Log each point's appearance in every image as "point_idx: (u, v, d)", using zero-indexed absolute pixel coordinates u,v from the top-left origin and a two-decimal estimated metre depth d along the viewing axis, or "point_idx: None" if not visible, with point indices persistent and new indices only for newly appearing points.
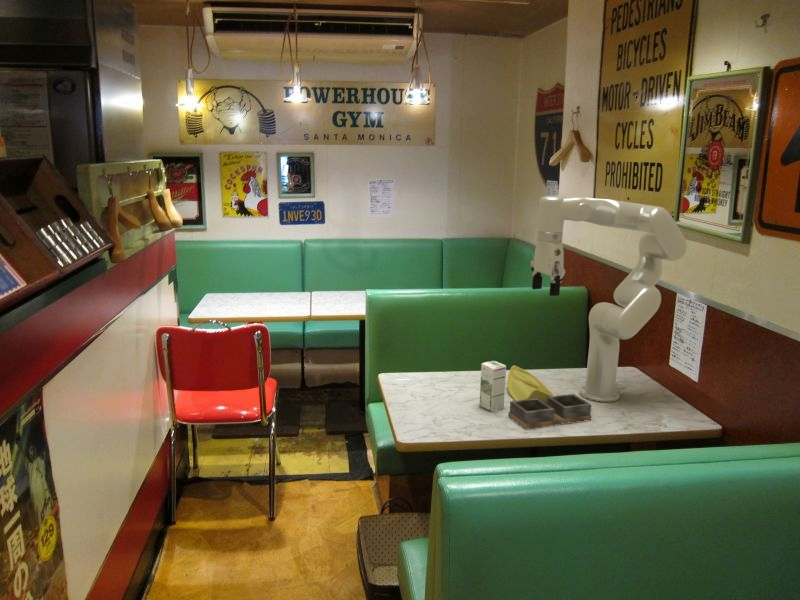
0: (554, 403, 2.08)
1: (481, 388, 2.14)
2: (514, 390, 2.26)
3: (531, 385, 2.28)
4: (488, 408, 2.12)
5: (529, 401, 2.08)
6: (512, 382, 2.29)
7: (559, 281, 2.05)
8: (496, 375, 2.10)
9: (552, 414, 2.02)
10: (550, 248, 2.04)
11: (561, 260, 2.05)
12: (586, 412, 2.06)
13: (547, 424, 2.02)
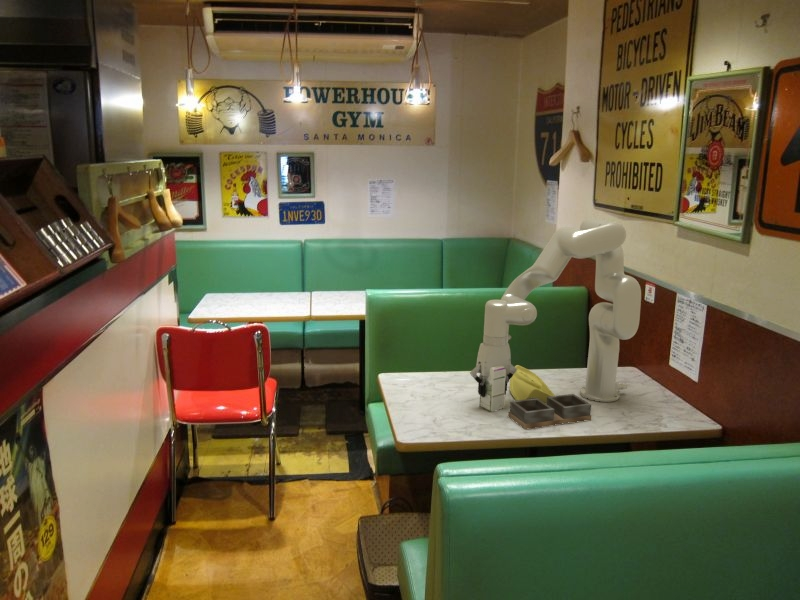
0: (554, 403, 2.08)
1: None
2: (515, 389, 2.26)
3: (533, 385, 2.28)
4: (488, 408, 2.12)
5: (529, 401, 2.08)
6: (514, 381, 2.30)
7: None
8: (496, 375, 2.10)
9: (552, 414, 2.02)
10: (509, 349, 2.10)
11: None
12: (586, 412, 2.06)
13: (547, 424, 2.02)
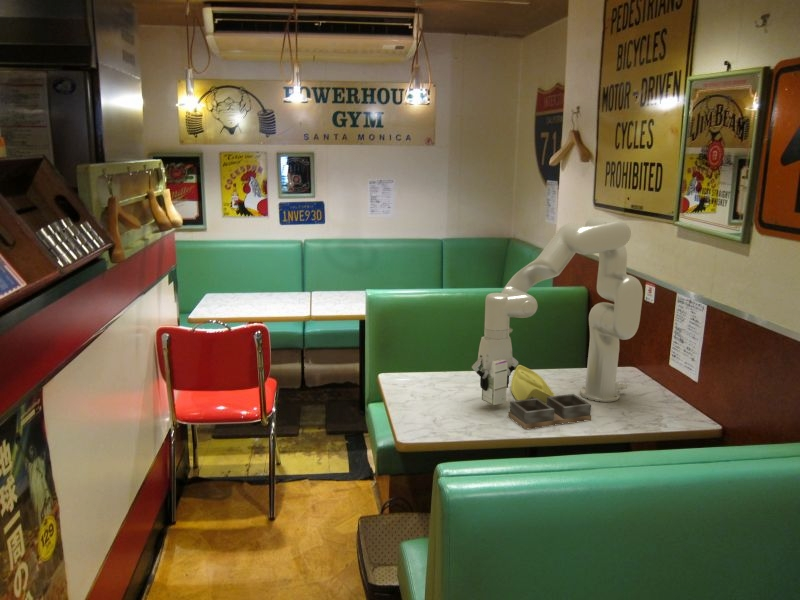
0: (554, 403, 2.08)
1: None
2: (516, 388, 2.27)
3: (535, 385, 2.29)
4: (490, 401, 2.12)
5: (529, 401, 2.08)
6: (516, 381, 2.30)
7: None
8: (498, 368, 2.09)
9: (552, 414, 2.02)
10: (510, 342, 2.10)
11: None
12: (586, 412, 2.06)
13: (547, 424, 2.02)
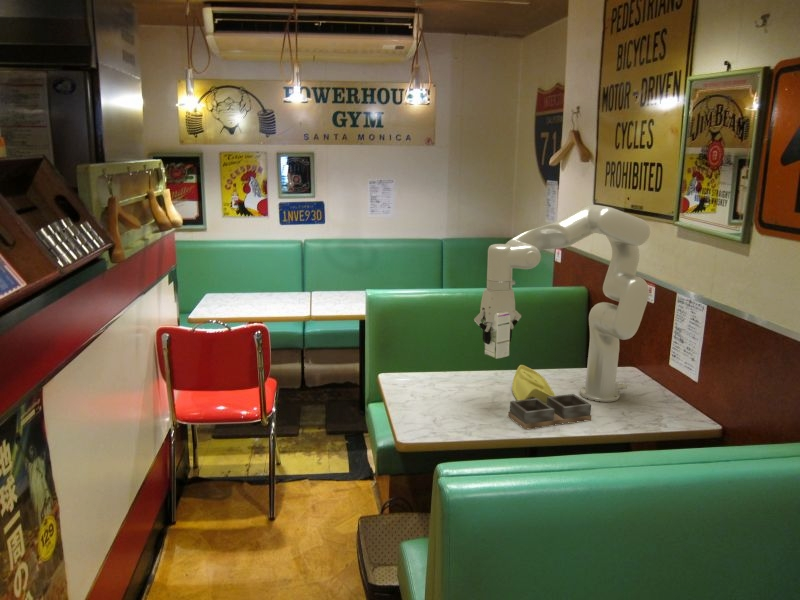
0: (554, 403, 2.08)
1: None
2: (517, 388, 2.27)
3: (536, 385, 2.29)
4: (493, 355, 2.09)
5: (529, 401, 2.08)
6: (517, 381, 2.30)
7: None
8: (500, 321, 2.06)
9: (552, 414, 2.02)
10: (513, 294, 2.06)
11: None
12: (586, 412, 2.06)
13: (547, 424, 2.02)
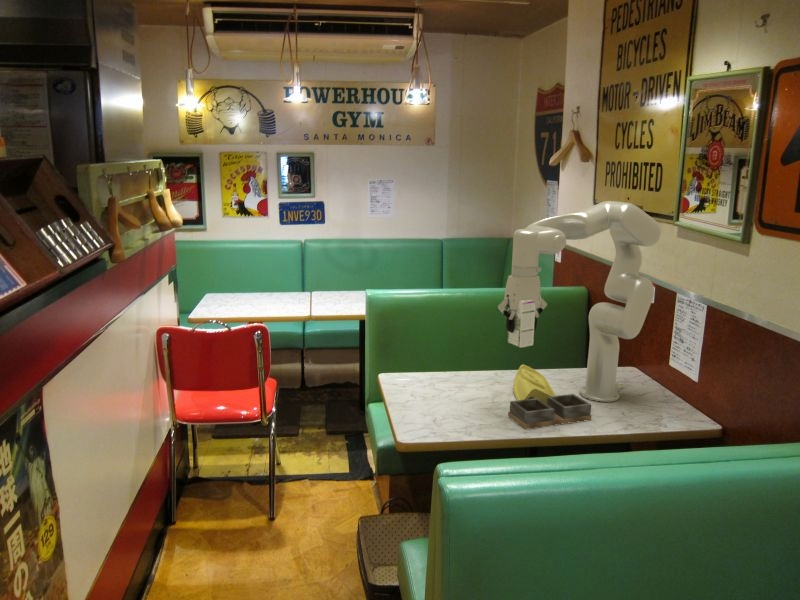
0: (554, 403, 2.08)
1: None
2: (518, 388, 2.27)
3: (537, 385, 2.29)
4: (516, 344, 2.02)
5: (529, 401, 2.08)
6: (518, 380, 2.31)
7: None
8: (525, 309, 1.99)
9: (552, 414, 2.02)
10: (539, 281, 1.99)
11: None
12: (586, 412, 2.06)
13: (547, 424, 2.02)
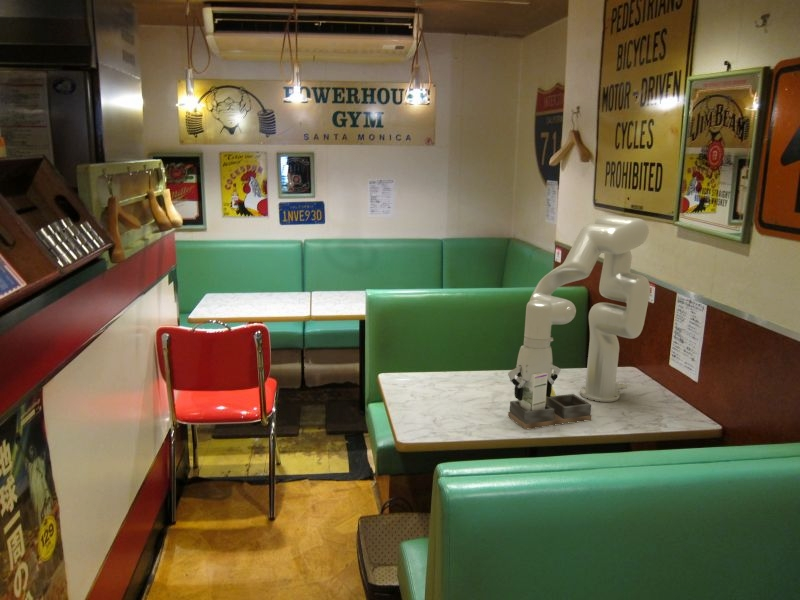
0: (554, 403, 2.08)
1: None
2: None
3: None
4: None
5: None
6: None
7: None
8: (537, 382, 2.00)
9: (552, 414, 2.02)
10: (551, 352, 2.00)
11: None
12: (586, 412, 2.06)
13: (547, 424, 2.02)
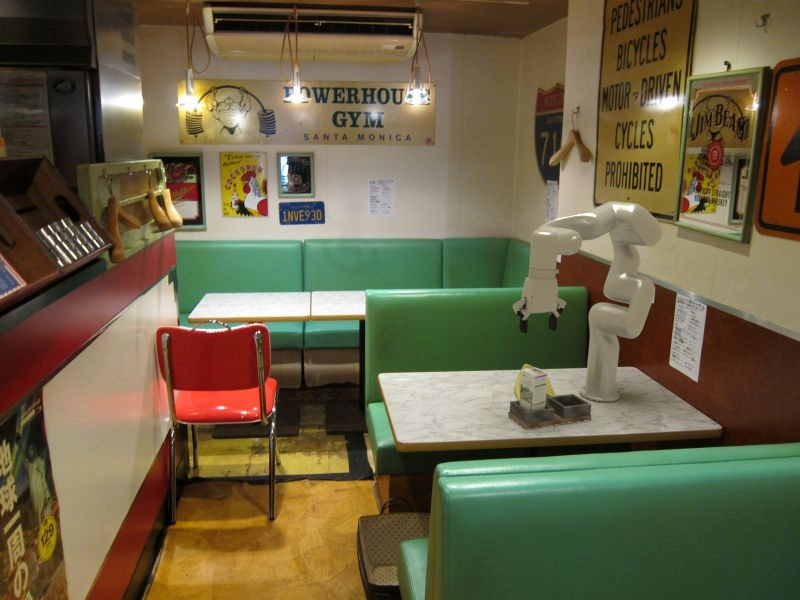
0: (554, 403, 2.08)
1: (521, 396, 2.04)
2: (519, 387, 2.28)
3: None
4: None
5: None
6: (520, 380, 2.32)
7: None
8: (537, 382, 2.00)
9: (552, 414, 2.02)
10: (556, 283, 1.96)
11: None
12: (586, 412, 2.06)
13: (547, 424, 2.02)
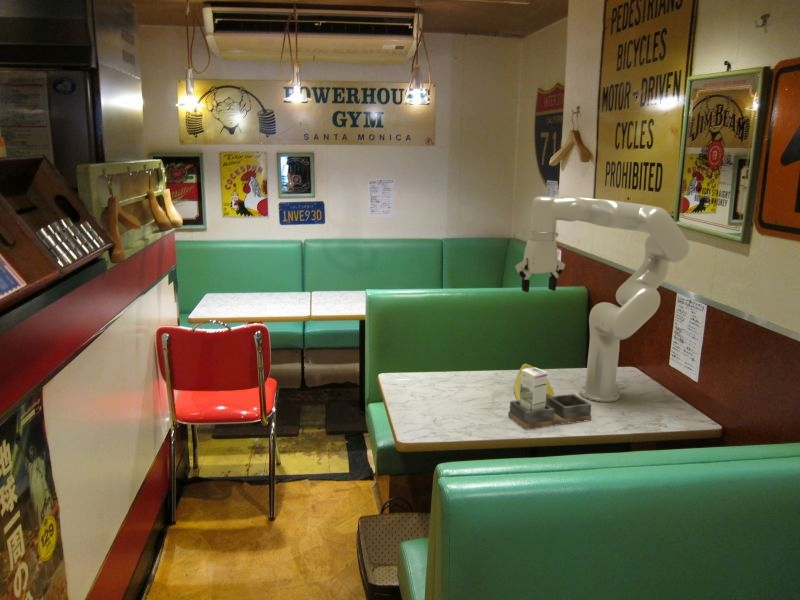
0: (554, 403, 2.08)
1: (521, 396, 2.04)
2: (519, 387, 2.29)
3: None
4: None
5: None
6: (519, 379, 2.32)
7: None
8: (537, 382, 2.00)
9: (552, 414, 2.02)
10: (556, 246, 2.12)
11: None
12: (586, 412, 2.06)
13: (547, 424, 2.02)
